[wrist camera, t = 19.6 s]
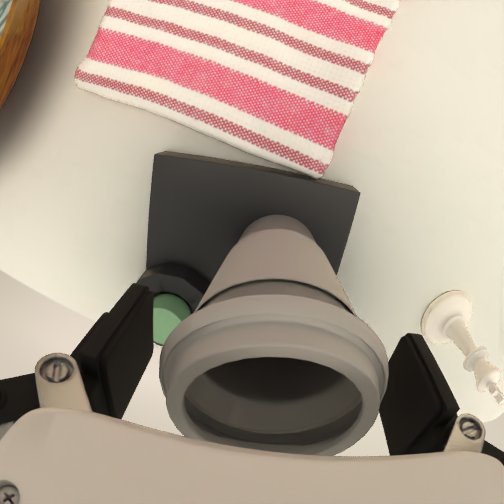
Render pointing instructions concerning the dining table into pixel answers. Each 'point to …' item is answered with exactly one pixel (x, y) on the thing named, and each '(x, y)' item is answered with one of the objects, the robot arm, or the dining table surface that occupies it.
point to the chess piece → (461, 338)
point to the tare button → (167, 315)
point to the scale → (230, 217)
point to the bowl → (14, 39)
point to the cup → (274, 352)
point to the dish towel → (242, 68)
